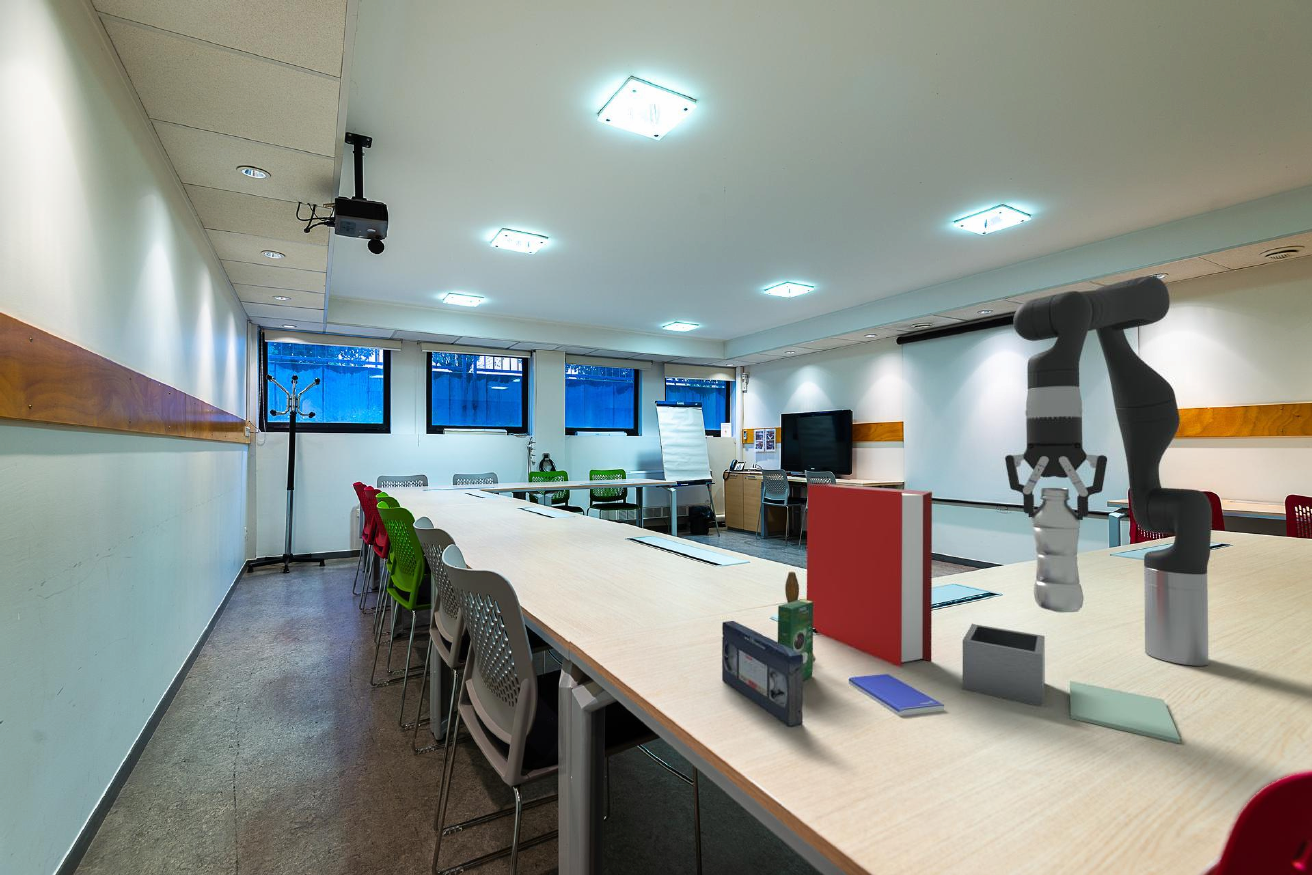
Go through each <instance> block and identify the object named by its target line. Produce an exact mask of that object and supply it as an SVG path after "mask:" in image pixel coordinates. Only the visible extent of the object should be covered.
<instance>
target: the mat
mask: <svg viewBox="0 0 1312 875" xmlns="http://www.w3.org/2000/svg"><path fill="white" fill-rule="evenodd" d="M1069 698H1070V699H1069V700H1070V702H1069V703H1070V706H1069V707H1070V719H1073V720H1077V721H1081V722H1085V723H1090V724H1094V725H1098V726H1102V727H1107V728H1111V729H1115V730H1120V731H1125V732H1128V733H1133V734H1137V735H1141V736H1146V737H1150V738H1155V739H1159V740H1163V741H1167V742H1172V743H1176V744H1181V738H1180V735H1179V733H1178V731H1177V729H1176V726H1175V724H1174V721H1173V718H1172V717H1171V715H1170V712H1169V709H1168V707H1167V704H1166V702H1165V700H1164V699H1162V698H1158V697H1153V696H1148V695H1143V694H1139V693H1138V694H1137V693H1133V692H1127V691H1122V690H1119V689H1118V690H1117V689H1113V688H1109V687H1102V686H1098V685H1093V684H1089V683H1088V684H1087V683H1083V682H1078V681H1072V680H1070V681H1069Z"/></svg>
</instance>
